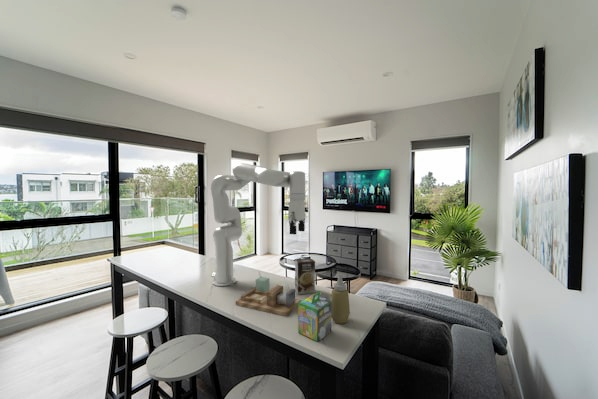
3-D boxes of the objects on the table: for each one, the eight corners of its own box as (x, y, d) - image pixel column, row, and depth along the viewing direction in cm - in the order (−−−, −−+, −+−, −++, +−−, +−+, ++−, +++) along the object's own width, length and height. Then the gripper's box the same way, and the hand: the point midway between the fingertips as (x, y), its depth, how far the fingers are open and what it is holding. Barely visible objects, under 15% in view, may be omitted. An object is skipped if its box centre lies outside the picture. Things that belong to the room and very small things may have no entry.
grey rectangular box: (267, 302, 112) (267, 290, 112) (274, 297, 118) (274, 285, 118) (289, 307, 108) (289, 294, 108) (295, 301, 114) (295, 289, 113)
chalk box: (312, 323, 99) (312, 285, 99) (332, 331, 93) (332, 291, 93) (297, 333, 92) (297, 292, 92) (317, 343, 86) (317, 299, 86)
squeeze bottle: (347, 315, 105) (347, 272, 105) (352, 325, 97) (352, 279, 97) (328, 315, 105) (328, 272, 104) (331, 325, 97) (331, 279, 96)
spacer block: (255, 293, 128) (255, 279, 127) (261, 289, 132) (261, 276, 132) (264, 295, 126) (264, 281, 125) (269, 291, 130) (269, 277, 130)
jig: (235, 304, 115) (235, 288, 115) (253, 293, 128) (253, 278, 127) (286, 316, 104) (286, 298, 104) (300, 302, 117) (300, 286, 117)
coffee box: (297, 294, 126) (297, 262, 125) (294, 289, 132) (294, 259, 132) (315, 292, 128) (315, 261, 128) (311, 288, 135) (311, 257, 134)
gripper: (297, 196, 132) (297, 229, 133) (282, 197, 116) (282, 234, 117) (311, 196, 129) (311, 230, 129) (296, 197, 113) (296, 236, 114)
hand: (297, 232), depth 123 cm, fingers open, 9 cm apart
